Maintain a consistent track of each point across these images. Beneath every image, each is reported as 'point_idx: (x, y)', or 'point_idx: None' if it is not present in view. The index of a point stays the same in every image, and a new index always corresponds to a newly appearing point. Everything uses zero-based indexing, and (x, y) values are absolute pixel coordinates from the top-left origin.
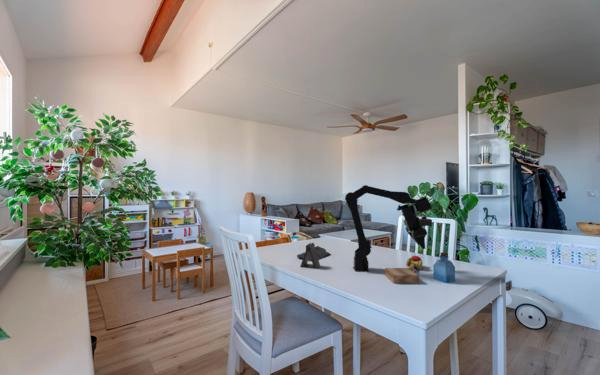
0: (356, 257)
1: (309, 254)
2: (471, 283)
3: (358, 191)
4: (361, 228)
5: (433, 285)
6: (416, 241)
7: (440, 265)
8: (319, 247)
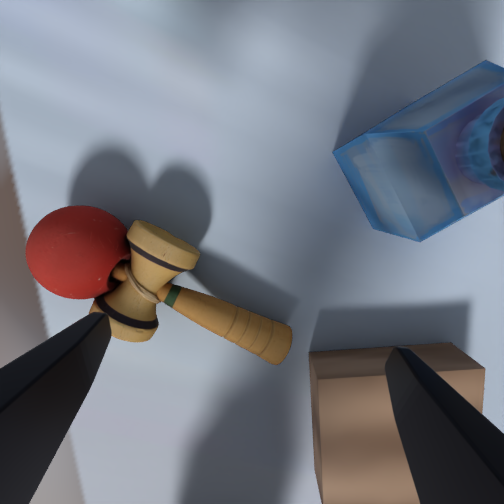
0: None
1: None
2: (470, 7)
3: None
4: None
5: (488, 275)
6: (74, 400)
7: (489, 203)
8: None
